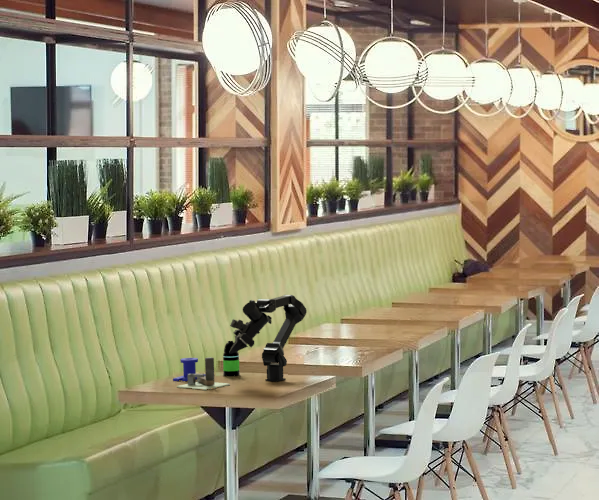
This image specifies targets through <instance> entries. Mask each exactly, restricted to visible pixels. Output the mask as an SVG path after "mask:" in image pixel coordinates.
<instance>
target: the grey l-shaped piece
mask: <svg viewBox="0 0 599 500" xmlns="http://www.w3.org/2000/svg"><path fill="white" fill-rule="evenodd" d="M204 367H205V371H204V372H205V373H204V374H206V376H203V377H197V379H196V382H201V383H203V384H205V385H214V382H215V358H214V357H213V356H212V357H210V356H209V357H205V358H204Z"/></svg>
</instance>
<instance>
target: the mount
mask: <svg viewBox="0 0 599 500" xmlns="http://www.w3.org/2000/svg"><path fill="white" fill-rule="evenodd" d="M198 362H199V358H198V357H184V358H180V363H181V364H182V367H183V368H182V369H183V370H182V371H183V375H180V376H177V377H173V379H172V381H173V382H180V381H179V380H181V382H182V381H188V376H187V375H188V374H197V372H196V370H197V369H196V364H197V363H198ZM203 374H204V376H206V374H205V373H203ZM195 379H196V380H197V377H195Z"/></svg>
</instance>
